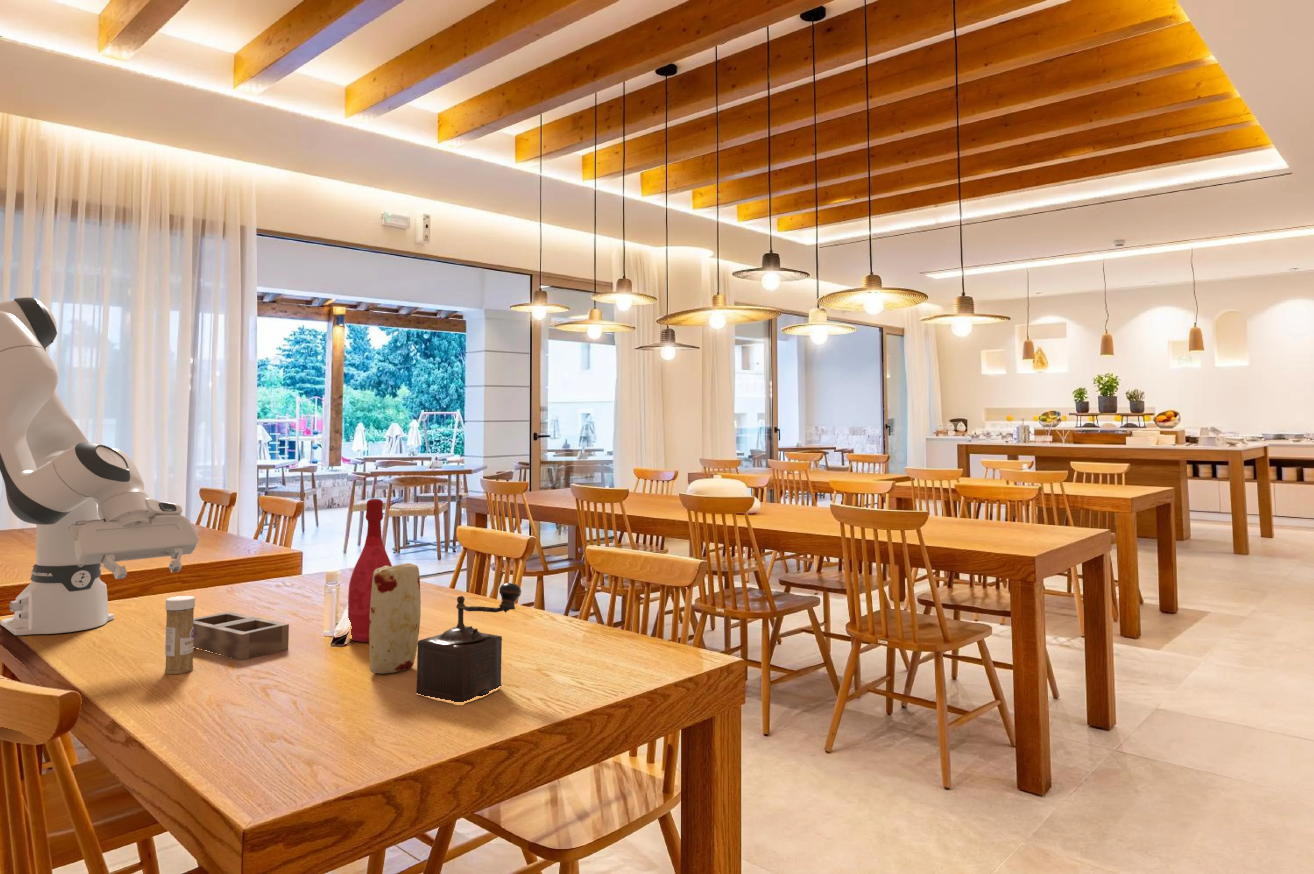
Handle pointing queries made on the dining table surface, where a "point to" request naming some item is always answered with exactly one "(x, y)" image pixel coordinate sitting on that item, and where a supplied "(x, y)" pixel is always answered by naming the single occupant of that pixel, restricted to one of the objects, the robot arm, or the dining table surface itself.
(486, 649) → the coffee grinder
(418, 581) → the food model
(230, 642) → the rail
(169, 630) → the sprinkles bottle
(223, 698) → the dining table surface
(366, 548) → the wine bottle
